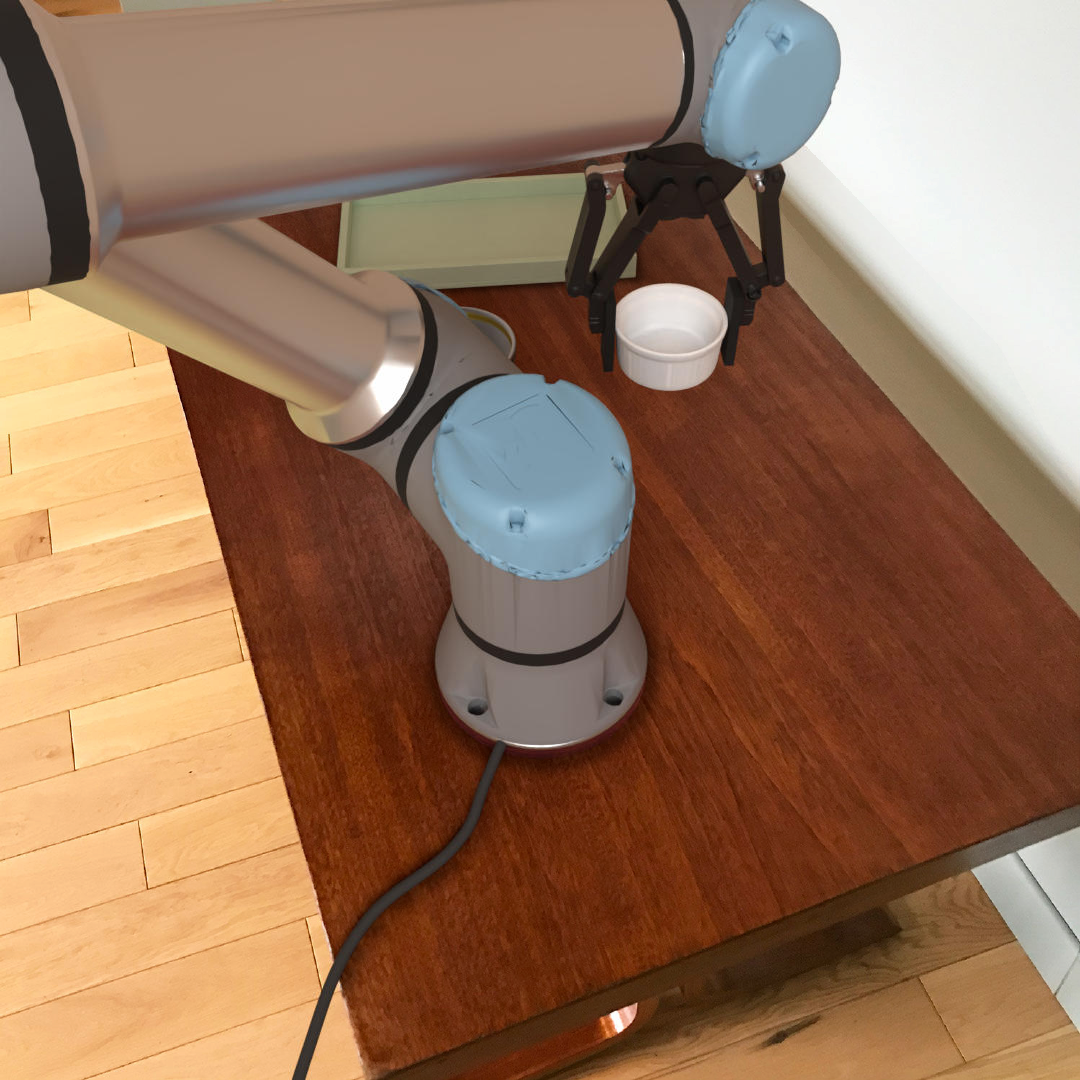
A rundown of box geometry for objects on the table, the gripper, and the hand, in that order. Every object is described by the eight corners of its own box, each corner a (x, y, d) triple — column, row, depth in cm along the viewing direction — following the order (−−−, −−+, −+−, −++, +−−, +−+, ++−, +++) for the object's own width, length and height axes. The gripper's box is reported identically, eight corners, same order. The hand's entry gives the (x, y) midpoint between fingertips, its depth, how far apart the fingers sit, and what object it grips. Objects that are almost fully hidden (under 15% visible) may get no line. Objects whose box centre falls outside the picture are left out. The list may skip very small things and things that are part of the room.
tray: (635, 277, 112) (636, 255, 110) (340, 295, 111) (336, 273, 109) (617, 192, 122) (618, 170, 120) (346, 207, 121) (343, 186, 119)
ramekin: (693, 412, 85) (698, 368, 82) (591, 374, 88) (592, 331, 85) (739, 347, 90) (746, 303, 87) (641, 313, 93) (644, 270, 90)
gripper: (843, 51, 75) (790, 321, 92) (521, 65, 74) (528, 335, 91) (872, 106, 70) (811, 381, 87) (528, 122, 69) (534, 396, 86)
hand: (666, 357), depth 89 cm, fingers closed on ramekin, 9 cm apart
